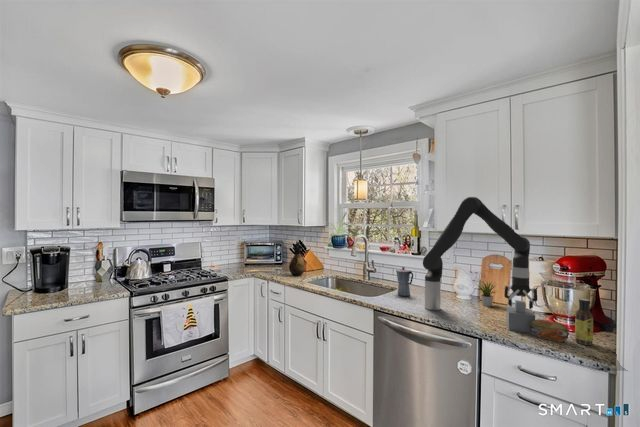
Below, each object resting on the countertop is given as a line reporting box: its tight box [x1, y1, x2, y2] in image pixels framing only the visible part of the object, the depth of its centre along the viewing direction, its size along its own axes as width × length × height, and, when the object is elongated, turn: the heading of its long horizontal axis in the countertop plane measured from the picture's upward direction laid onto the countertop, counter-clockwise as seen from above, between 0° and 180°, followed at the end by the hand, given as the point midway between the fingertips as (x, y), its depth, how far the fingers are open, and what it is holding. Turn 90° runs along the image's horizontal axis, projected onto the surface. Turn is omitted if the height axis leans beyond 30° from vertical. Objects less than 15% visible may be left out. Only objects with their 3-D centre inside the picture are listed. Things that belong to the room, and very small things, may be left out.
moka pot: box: [395, 266, 414, 297], centre depth 228 cm, size 10×15×20 cm, turn 40°
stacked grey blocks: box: [505, 299, 536, 334], centre depth 162 cm, size 11×11×14 cm
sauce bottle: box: [574, 298, 594, 346], centre depth 144 cm, size 6×6×20 cm
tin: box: [529, 318, 570, 343], centre depth 149 cm, size 15×3×8 cm, turn 45°
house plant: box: [476, 280, 499, 307], centre depth 204 cm, size 14×14×16 cm
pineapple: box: [288, 243, 306, 277], centre depth 298 cm, size 17×15×30 cm
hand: (520, 307), depth 162 cm, fingers open, 8 cm apart
